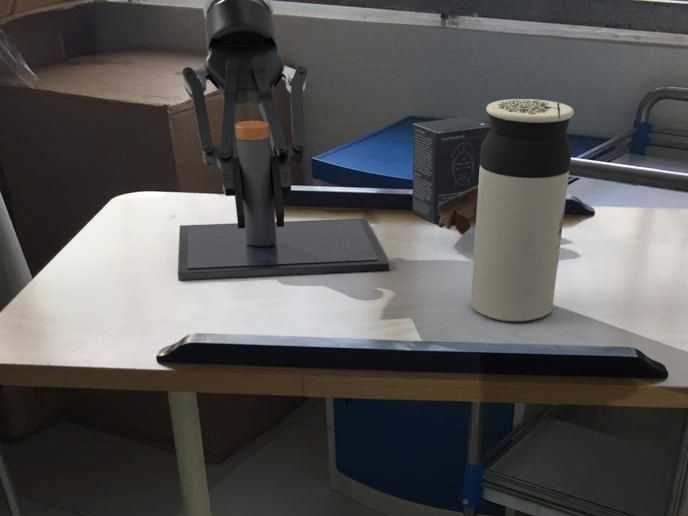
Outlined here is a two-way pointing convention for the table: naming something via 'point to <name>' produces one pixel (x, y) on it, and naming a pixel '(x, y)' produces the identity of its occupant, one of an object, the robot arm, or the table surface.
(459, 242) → the table surface
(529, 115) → the travel mug
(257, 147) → the bottle
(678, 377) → the table surface
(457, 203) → the brown jagged lump
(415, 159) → the box
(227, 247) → the tablet
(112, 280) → the table surface
